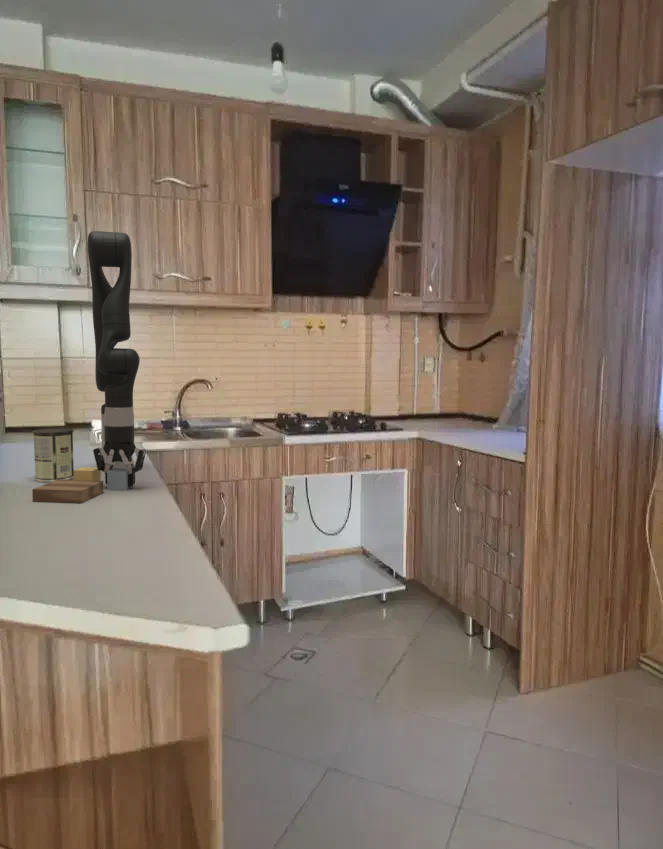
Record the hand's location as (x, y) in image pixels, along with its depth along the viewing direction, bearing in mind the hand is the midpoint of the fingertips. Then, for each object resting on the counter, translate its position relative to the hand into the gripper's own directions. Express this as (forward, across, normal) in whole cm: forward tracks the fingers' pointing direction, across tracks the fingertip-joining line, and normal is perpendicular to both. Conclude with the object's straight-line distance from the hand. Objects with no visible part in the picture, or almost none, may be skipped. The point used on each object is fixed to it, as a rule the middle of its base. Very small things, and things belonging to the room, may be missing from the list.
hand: (120, 486), depth 162 cm
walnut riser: (0, +8, +12) cm, 14 cm away
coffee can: (+1, +23, -9) cm, 25 cm away
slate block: (0, 0, 0) cm, 0 cm away
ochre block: (+1, +9, 0) cm, 9 cm away
